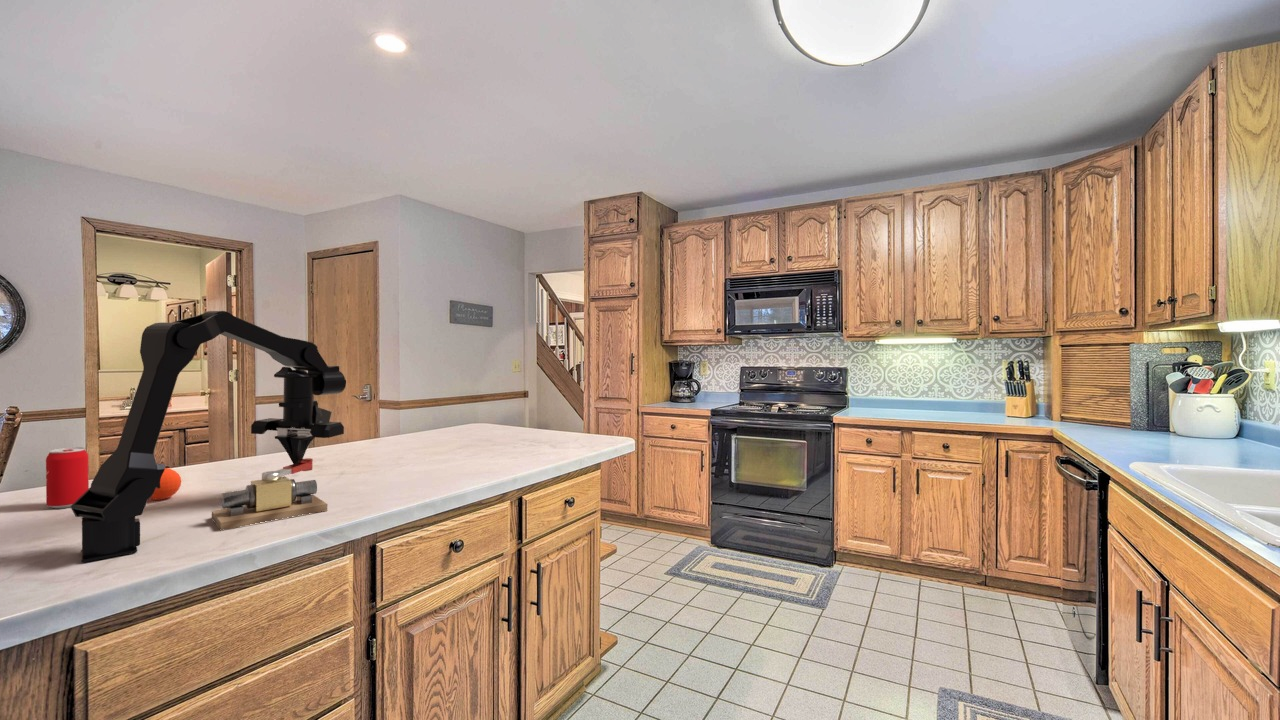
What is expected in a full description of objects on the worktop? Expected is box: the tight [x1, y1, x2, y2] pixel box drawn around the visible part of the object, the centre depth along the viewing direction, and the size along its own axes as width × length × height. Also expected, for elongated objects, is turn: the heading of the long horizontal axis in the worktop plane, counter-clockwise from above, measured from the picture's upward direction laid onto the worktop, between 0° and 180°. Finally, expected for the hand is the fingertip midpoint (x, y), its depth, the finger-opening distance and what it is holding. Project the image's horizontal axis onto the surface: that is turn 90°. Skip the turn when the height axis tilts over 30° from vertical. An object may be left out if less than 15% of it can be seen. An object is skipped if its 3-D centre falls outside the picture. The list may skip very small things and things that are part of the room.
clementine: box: [149, 467, 182, 501], centre depth 120 cm, size 8×7×7 cm
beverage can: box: [45, 446, 90, 509], centre depth 115 cm, size 6×6×12 cm
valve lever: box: [261, 457, 314, 481], centre depth 116 cm, size 14×3×2 cm, turn 178°
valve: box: [220, 476, 318, 517], centre depth 111 cm, size 16×5×6 cm, turn 136°
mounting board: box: [211, 494, 328, 531], centre depth 111 cm, size 18×10×2 cm, turn 136°
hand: (297, 465), depth 122 cm, fingers closed
